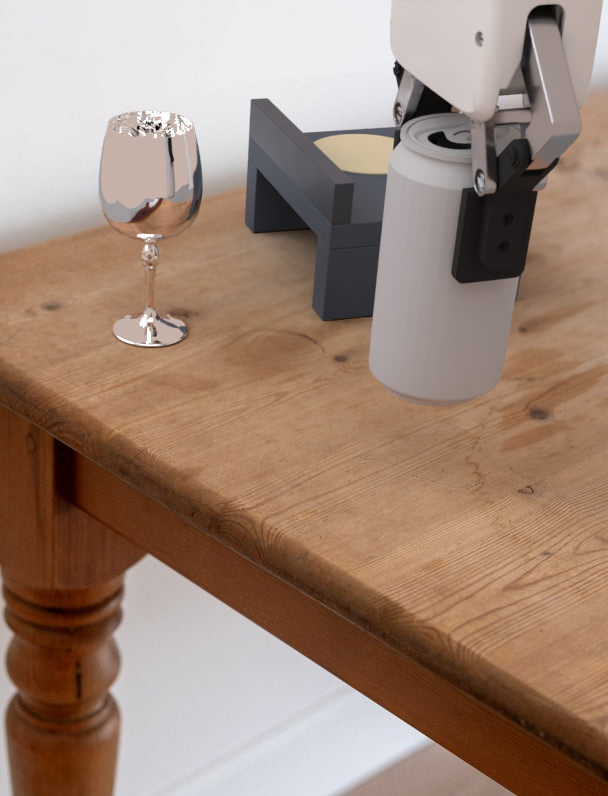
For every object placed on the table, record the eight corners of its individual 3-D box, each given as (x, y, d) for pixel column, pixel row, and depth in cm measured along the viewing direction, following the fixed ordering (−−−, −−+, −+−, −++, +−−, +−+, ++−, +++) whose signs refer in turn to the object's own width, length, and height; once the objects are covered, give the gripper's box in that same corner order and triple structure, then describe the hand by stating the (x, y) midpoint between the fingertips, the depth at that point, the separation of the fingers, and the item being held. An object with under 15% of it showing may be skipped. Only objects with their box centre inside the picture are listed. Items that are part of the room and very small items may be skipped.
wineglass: (214, 321, 78) (221, 118, 71) (172, 360, 74) (175, 148, 67) (129, 301, 80) (128, 101, 73) (83, 338, 76) (77, 130, 68)
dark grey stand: (416, 208, 94) (432, 88, 89) (516, 302, 82) (541, 169, 76) (244, 222, 91) (250, 98, 86) (322, 321, 79) (335, 184, 73)
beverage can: (339, 376, 63) (360, 127, 56) (429, 338, 66) (460, 97, 59) (437, 429, 59) (474, 169, 52) (527, 386, 63) (574, 135, 55)
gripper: (743, -193, 42) (624, 319, 53) (503, -251, 55) (448, 170, 66) (531, -187, 40) (455, 341, 51) (335, -248, 53) (309, 183, 64)
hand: (452, 241), depth 58 cm, fingers closed on beverage can, 6 cm apart
